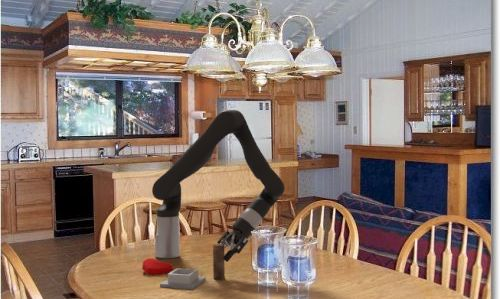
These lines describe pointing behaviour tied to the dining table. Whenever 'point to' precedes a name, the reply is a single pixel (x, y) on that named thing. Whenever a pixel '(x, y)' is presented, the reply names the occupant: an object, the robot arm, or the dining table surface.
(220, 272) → the dark brown block
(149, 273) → the heart
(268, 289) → the dining table surface
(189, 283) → the gray flanged square socket
